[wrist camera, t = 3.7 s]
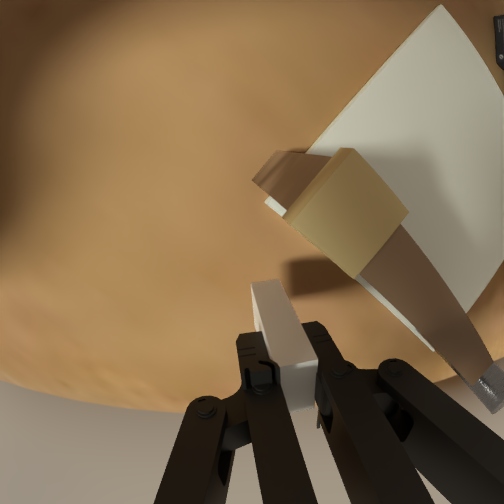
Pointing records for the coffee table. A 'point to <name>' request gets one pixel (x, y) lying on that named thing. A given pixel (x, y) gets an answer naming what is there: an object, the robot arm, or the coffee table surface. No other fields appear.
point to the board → (434, 152)
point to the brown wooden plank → (372, 244)
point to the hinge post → (485, 385)
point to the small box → (499, 39)
